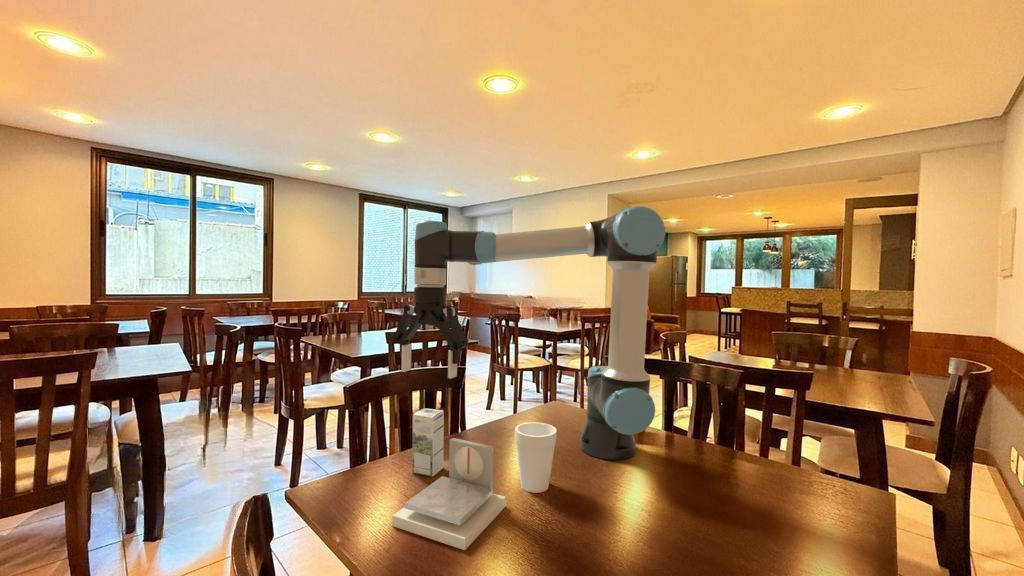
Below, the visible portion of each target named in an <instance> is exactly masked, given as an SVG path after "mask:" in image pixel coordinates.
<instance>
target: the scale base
mask: <svg viewBox="0 0 1024 576" xmlns="http://www.w3.org/2000/svg"><path fill="white" fill-rule="evenodd" d="M494 448H495V447H494V445H489V444H485V443H479V442H474V441H470V440H464V439H461V438H455V437H453V438H450V439H449V454H448V455H449V457H448V458H449V461H448V462H449V467H448V468H449V469H448V471H449V472H448V473H449V474H448V478H451V479H455V480H459V481H463V482H466V483H470V484H474V485H478V486H482V487H486V488H490V489H493V490H494V451H495V450H494ZM506 497H507V496H504V495H501V494H500V495H499V494H496V493H493V495H492V496H490V497H489V498H488V499H487V500H486V501H485V502H484V503H483V504H482V505H481V506H480V507H479V508H478V509H477V510H476V511H475V512H474V513H473V514H472V515H471V516H470V517H469V518H468V519H467V520H465V521H464V522H463V523H462V524H461V525H457V524H454V523H450V522H447V521H444V520H441V519H437V518H434V517H431V516H428V515H424V514H421V513H418V512H415V511H411V510H408V509H405V506H404V507H402V508H401V509H399V510H398V511H396V512H395V513H394V514H392V516H391V518H392V520H391V521H392V524H391V525H392V527H394V528H398V529H401V530H403V531H406V532H409V533H412V534H415V535H418V536H421V537H423V538H427V539H428V540H429V539H430V540H433V541H436V542H439V543H443V544H444V545H448V546H450V547H453V548H456V549H460V550H462V551H466V550H467V549H468V547H469V546H470V545H472V543H474V541H475V540H476V539H477V538H478V537H479V536H480V535H481V534H482V533H483V531H485V529H486V528H487V527H488V526H489V525H490V524H491V523H492V522H493V521H494V519H495V518H496V517H497V516H498V515H499V514H500V513H502V511H503V510H504V509H505V508H506V507H507V506H506V505H507V503H506V502H507V501H506V499H507V498H506Z"/></svg>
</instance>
